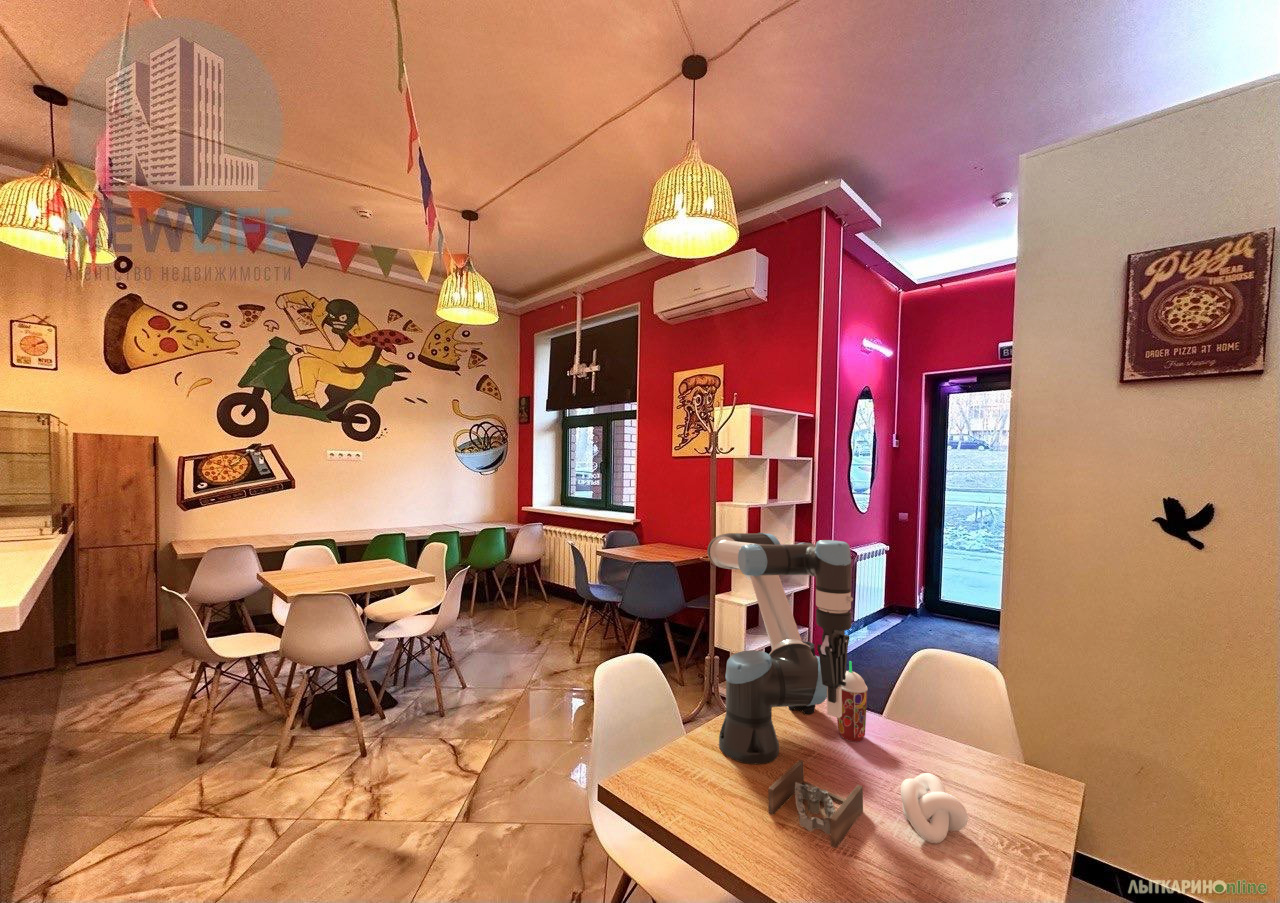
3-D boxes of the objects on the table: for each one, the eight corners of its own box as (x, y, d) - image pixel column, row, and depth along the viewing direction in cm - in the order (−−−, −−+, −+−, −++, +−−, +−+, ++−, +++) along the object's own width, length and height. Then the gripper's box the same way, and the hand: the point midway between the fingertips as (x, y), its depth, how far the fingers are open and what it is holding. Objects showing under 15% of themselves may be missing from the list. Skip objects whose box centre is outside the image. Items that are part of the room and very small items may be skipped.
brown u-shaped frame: (768, 812, 101) (768, 787, 101) (799, 782, 112) (799, 759, 112) (836, 848, 92) (835, 820, 92) (863, 811, 102) (862, 786, 102)
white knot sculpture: (884, 807, 104) (883, 763, 104) (941, 809, 103) (940, 765, 104) (912, 846, 92) (911, 797, 93) (976, 849, 92) (975, 799, 93)
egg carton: (837, 838, 95) (837, 816, 95) (796, 830, 96) (796, 809, 97) (830, 803, 105) (830, 783, 105) (794, 797, 107) (794, 777, 107)
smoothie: (873, 745, 128) (872, 667, 129) (842, 744, 128) (841, 666, 130) (860, 729, 136) (859, 656, 138) (830, 728, 137) (829, 655, 138)
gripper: (838, 617, 104) (840, 731, 103) (860, 607, 114) (862, 711, 112) (805, 611, 109) (806, 719, 108) (828, 601, 119) (829, 700, 117)
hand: (834, 714), depth 110 cm, fingers closed
